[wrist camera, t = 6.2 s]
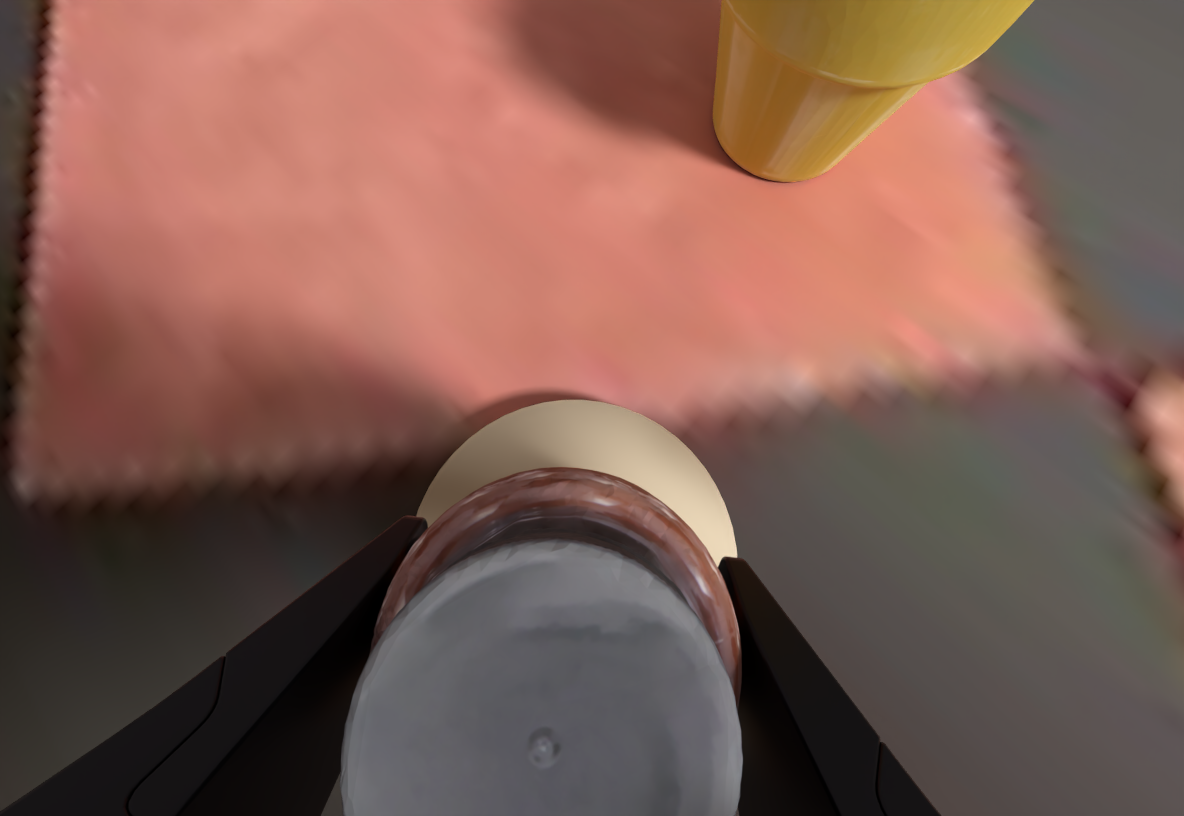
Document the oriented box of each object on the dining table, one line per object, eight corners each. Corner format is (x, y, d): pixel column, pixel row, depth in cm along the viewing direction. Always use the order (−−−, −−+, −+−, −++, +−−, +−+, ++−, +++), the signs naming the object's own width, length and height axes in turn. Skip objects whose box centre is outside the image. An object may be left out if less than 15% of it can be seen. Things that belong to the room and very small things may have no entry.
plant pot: (688, 19, 23) (766, -332, 13) (891, 55, 23) (1120, -274, 13) (655, 196, 21) (717, -66, 11) (878, 237, 20) (1137, 8, 11)
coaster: (679, 778, 16) (687, 802, 15) (367, 666, 17) (350, 680, 15) (759, 458, 18) (772, 455, 17) (484, 368, 19) (476, 359, 18)
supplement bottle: (464, 512, 16) (180, 533, 5) (625, 460, 16) (718, 367, 5) (510, 692, 15) (281, 1295, 3) (682, 631, 15) (961, 986, 4)
